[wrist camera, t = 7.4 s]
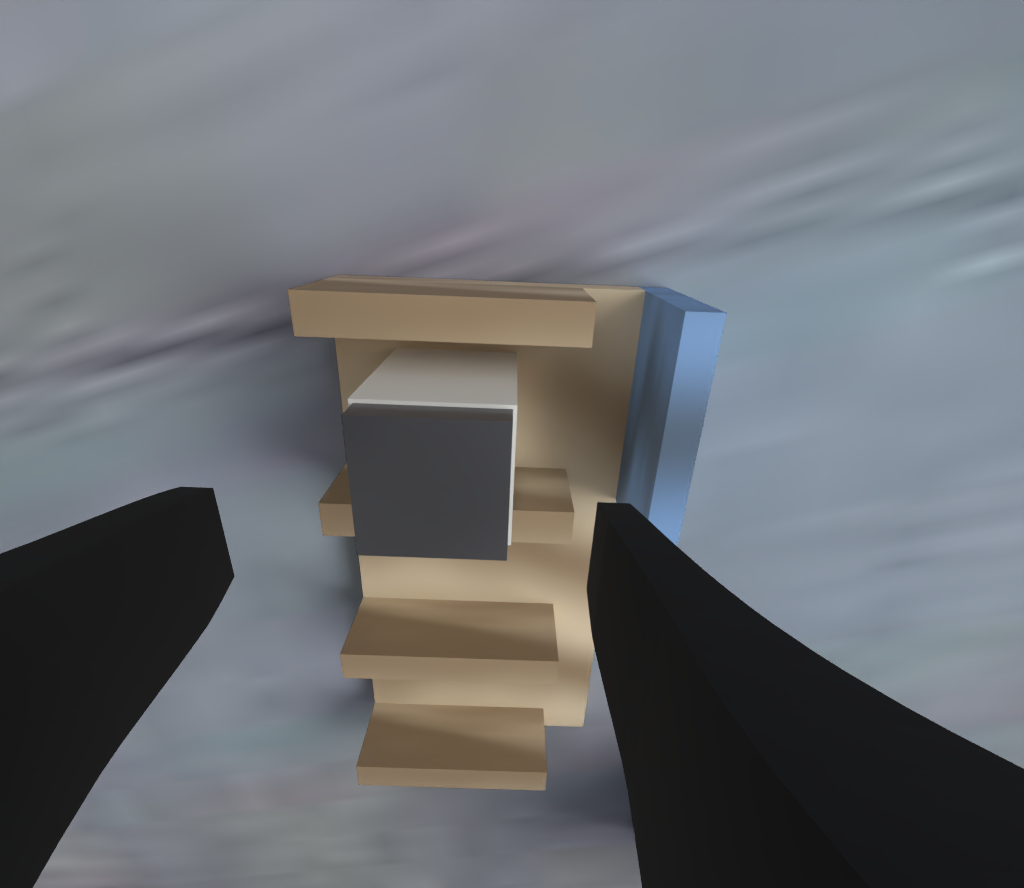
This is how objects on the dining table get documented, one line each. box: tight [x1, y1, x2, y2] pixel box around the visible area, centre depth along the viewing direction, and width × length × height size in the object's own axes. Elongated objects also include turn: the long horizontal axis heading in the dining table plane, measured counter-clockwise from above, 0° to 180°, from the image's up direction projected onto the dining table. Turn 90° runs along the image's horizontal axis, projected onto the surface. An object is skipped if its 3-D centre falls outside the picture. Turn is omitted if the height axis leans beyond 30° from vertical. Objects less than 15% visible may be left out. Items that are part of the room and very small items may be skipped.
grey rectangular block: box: [342, 348, 517, 561], centre depth 14 cm, size 4×4×6 cm
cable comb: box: [288, 275, 727, 790], centre depth 18 cm, size 20×11×5 cm, turn 178°
